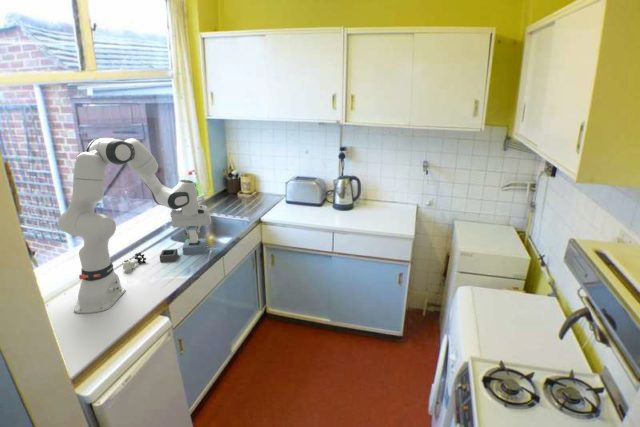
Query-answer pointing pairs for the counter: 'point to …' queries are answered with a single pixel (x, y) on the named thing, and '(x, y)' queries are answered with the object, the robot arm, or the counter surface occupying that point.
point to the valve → (132, 262)
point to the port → (194, 247)
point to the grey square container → (168, 255)
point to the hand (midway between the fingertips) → (193, 233)
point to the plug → (193, 234)
